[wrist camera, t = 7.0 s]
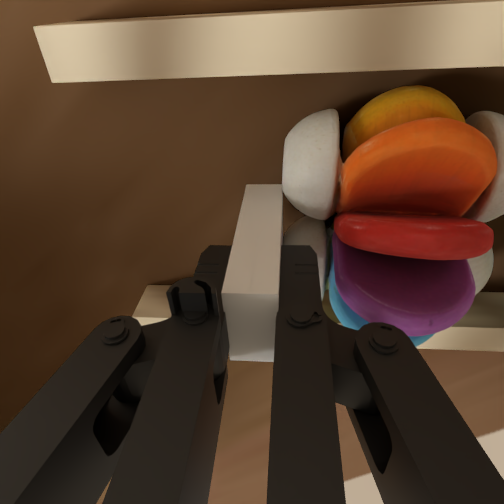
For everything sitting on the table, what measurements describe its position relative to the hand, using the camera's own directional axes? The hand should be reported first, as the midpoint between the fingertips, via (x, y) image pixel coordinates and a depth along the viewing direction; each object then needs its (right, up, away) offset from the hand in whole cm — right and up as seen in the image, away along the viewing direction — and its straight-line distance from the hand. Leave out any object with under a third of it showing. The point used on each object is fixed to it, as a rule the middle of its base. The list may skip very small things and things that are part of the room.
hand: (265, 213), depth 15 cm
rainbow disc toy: (+5, +1, +1) cm, 5 cm away
